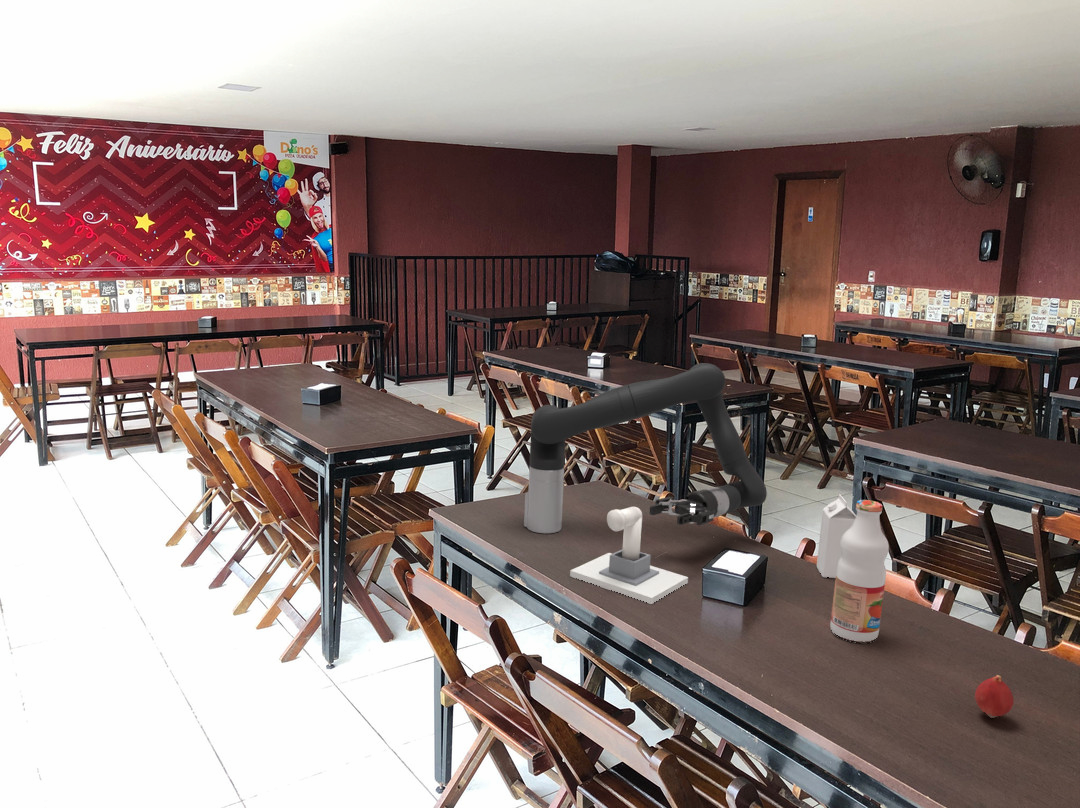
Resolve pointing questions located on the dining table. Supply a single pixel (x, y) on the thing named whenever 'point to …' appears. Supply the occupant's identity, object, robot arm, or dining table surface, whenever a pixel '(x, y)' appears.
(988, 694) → the onion
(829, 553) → the milk carton
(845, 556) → the fruit juice
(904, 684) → the dining table surface
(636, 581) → the duct
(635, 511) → the elbow
